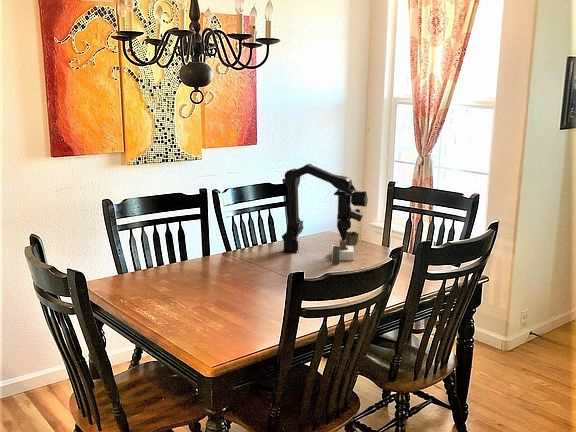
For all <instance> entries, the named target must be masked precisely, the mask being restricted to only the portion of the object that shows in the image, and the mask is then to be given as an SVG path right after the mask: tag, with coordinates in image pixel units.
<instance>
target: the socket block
mask: <svg viewBox="0 0 576 432" xmlns="http://www.w3.org/2000/svg"><path fill="white" fill-rule="evenodd" d="M333 246H338V245H334V244H333V245H331V260H332V261H333ZM354 247H355V246H354ZM354 247H353V246H347V245H346V250H340V258H339V261H354V258H355V257H354V256H355V251H354V249H355V248H354Z"/></svg>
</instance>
